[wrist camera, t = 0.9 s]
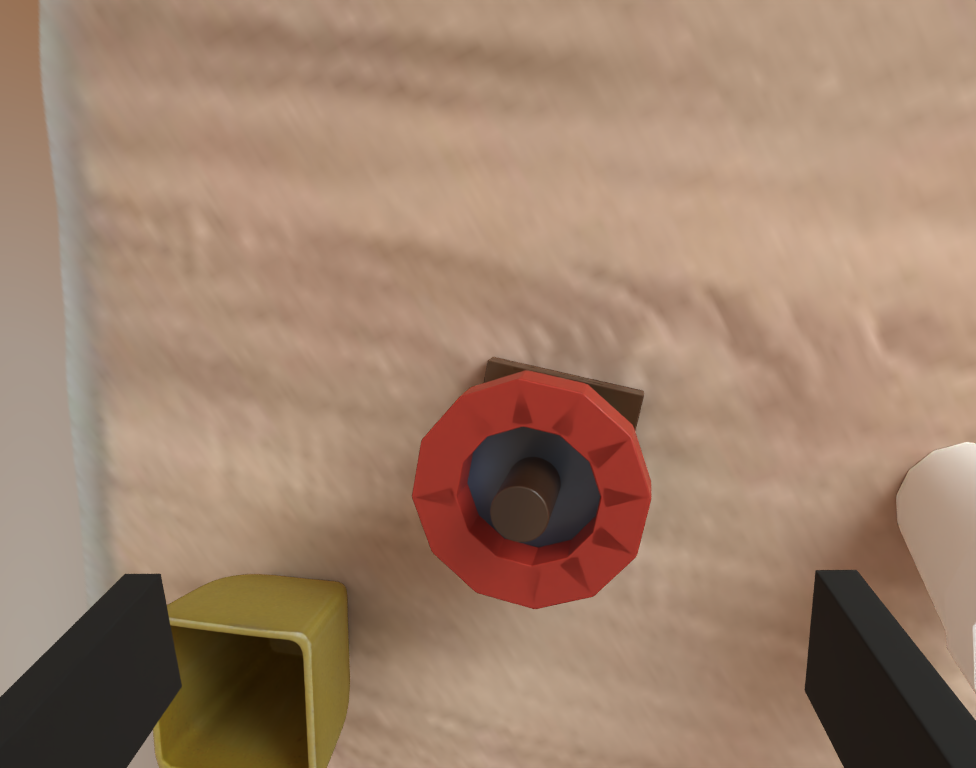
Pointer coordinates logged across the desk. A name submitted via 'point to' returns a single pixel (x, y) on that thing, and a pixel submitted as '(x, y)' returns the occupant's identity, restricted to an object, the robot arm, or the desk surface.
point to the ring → (513, 564)
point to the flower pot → (257, 674)
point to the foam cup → (945, 542)
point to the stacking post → (539, 471)
